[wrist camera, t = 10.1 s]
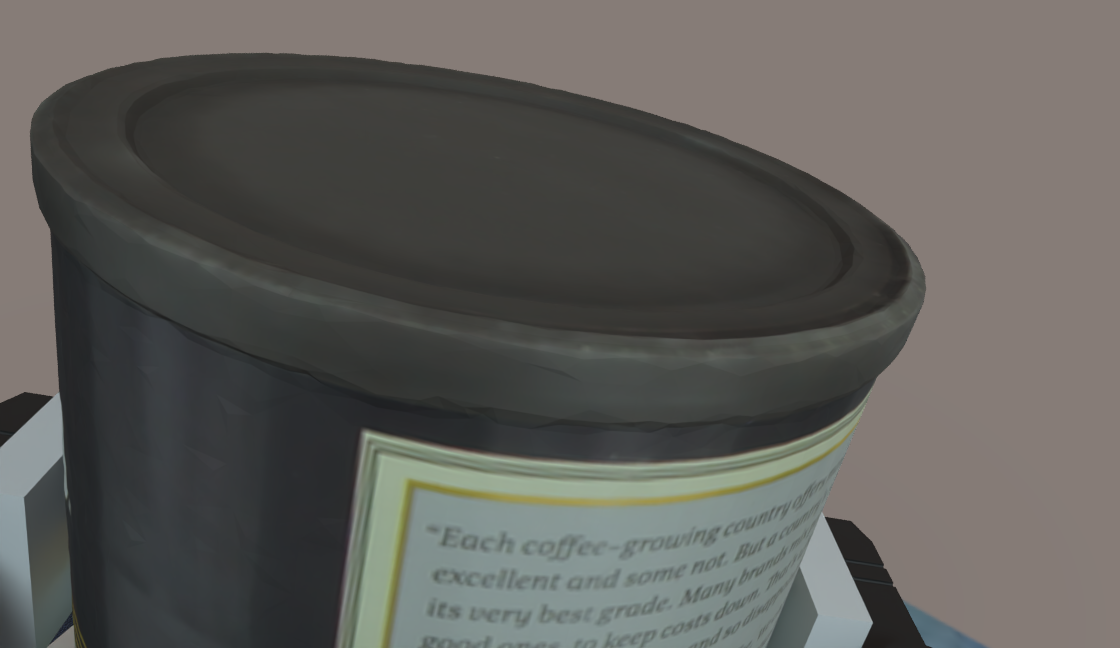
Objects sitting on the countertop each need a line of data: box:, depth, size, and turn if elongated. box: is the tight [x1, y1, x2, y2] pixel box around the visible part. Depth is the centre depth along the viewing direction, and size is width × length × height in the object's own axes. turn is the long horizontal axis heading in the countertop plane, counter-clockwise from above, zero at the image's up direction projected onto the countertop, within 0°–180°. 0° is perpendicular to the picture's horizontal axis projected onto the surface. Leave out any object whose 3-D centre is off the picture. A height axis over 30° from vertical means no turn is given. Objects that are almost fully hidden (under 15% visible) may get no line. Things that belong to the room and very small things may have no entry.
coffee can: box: [30, 53, 926, 648], centre depth 14 cm, size 10×10×14 cm
